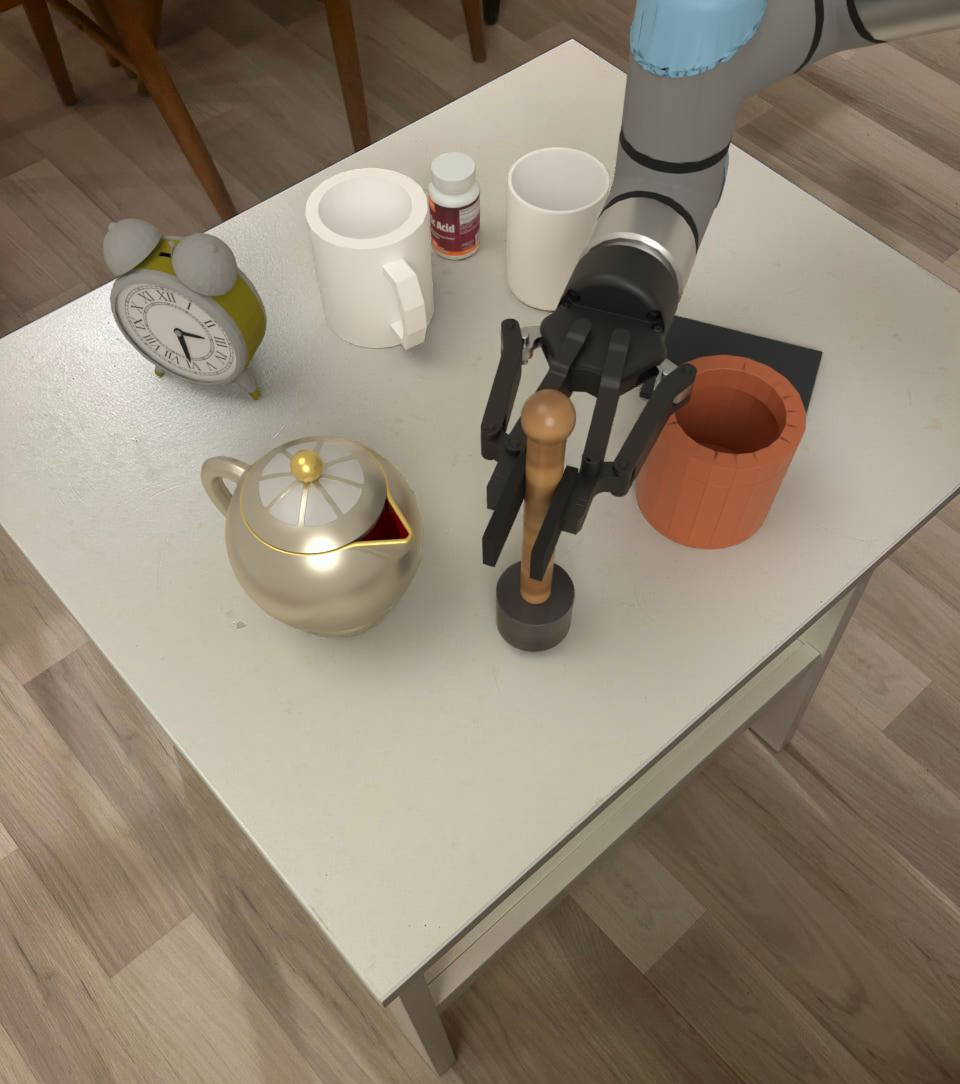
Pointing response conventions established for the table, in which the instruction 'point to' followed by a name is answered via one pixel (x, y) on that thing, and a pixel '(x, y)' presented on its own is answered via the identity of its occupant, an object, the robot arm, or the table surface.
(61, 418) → the table surface
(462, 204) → the pill bottle
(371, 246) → the mug
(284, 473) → the teapot
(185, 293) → the alarm clock
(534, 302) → the mug
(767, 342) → the mat
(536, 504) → the brush
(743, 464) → the jar
